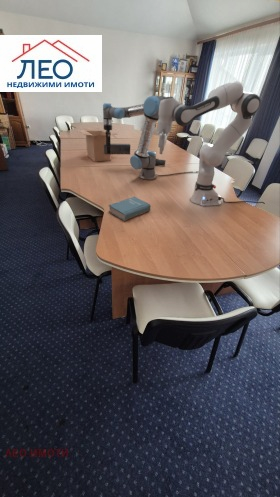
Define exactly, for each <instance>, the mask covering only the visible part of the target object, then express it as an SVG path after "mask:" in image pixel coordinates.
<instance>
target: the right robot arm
mask: <svg viewBox="0 0 280 497" xmlns="http://www.w3.org/2000/svg"><path fill="white" fill-rule="evenodd" d="M164 97H165V98H163V99H162V100H161V101H160V105H159V113H158V115H159V119H158V121H157V122H156V124H157V125H156V132H158V135H159V136H158V148H159V155H163V152H164V149H165V146H166V144H167V141H168V137H169V134H170V133H172V128H173V127H172V126H173V123H174V122H175V123H176V124H177V125H178V126H179V127H187V126H189V125H190V124H191V123H193V121H194V120H196V119H197V118H199V117H201V116H204V115H206V114H208V113H210V112H213V111H217V110H220V109H223V108H225V107H226V108H227V107H228V106H229V107H230V109H231V110H232V111H233V112H234V113H236V114H235V116H234V118H233V120H232V121H231V122H230V123H229V124H228V125H227V126H226V127H225V128H224V129H223V130H222V131H221V132H220V133H219V135H218V137H217V139H216V141H215V142H214V143H213V144H211V143H206V144H203V145H201V147H200V149H199V160H198V162H199V163H198V171H199V172H198V171H197V178H196V181H195V184H194V189H193V193H192V195H191V197H190V201H191V203H194V204H196V205H199V206H201V207H211V206H220V205H221V201H222V202H223V203H227V204H236V203H254V204H263V205H266V202H264V201H252V200H251V201H250V200H240V201H239V200H238V201H225V198H224V197H222V195H221V194H218V192H217V191H216V190H215V189H216V188H217V186H216V184H214V183H213V181H214V177H215V167H219V166H220V165H221V164H222V163H223V161H224V158H225V156H226V155H227V153H228V152H229V150H230V149H231V148H232V146H234V145H235V143H236V142H237V141H238V140H239V139H240V138H242V137H243V136H244V134H245V133H246V132H247V131H248V129H250V127H251V126H252V124H253V118H254V117H255V115H256V114H257V112H258V110H259V109H260V107H261V104H262V100H261V99H262V98H260V96H259V95H258V94H257V93H252V92H247V91H244V86H243V84H242V82H240V81H237V80H236V81H231V82H227V83H224V84H222V85H220V86H217V87H215V88H213V89H212V90H211V91H210V92H209V93H208V96H207V98H205V100H202V101H200V102H198V103H196V104H194V105H185V104H183V103H181V102H179V101H178V100H177V99H176V98H175V97H174V96H164Z"/></svg>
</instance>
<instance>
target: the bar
mask: <svg viewBox="0 0 280 497" xmlns="http://www.w3.org/2000/svg"><path fill="white" fill-rule="evenodd" d="M110 145H111V146H110V155H131V144H130V143H110ZM104 154H107V144H104Z"/></svg>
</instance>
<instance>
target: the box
mask: <svg viewBox="0 0 280 497" xmlns="http://www.w3.org/2000/svg"><path fill="white" fill-rule="evenodd" d="M77 131H78V132H79V133H81V134H82V135H85V144H86V156H87V157H88V158H90V160H92V161H93V162H95V163H97V162H108V161H111V154H104V144H106V130H104V129H103V130H101V129H100V128H83V129H77ZM110 133H111V135H110V136H116V135H118V133H116V132H114V131H113V130H110Z"/></svg>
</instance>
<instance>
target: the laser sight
mask: <svg viewBox="0 0 280 497" xmlns="http://www.w3.org/2000/svg"><path fill="white" fill-rule="evenodd" d="M155 166H164V167H165V166H166V159H159V158H156V160H155Z"/></svg>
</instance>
